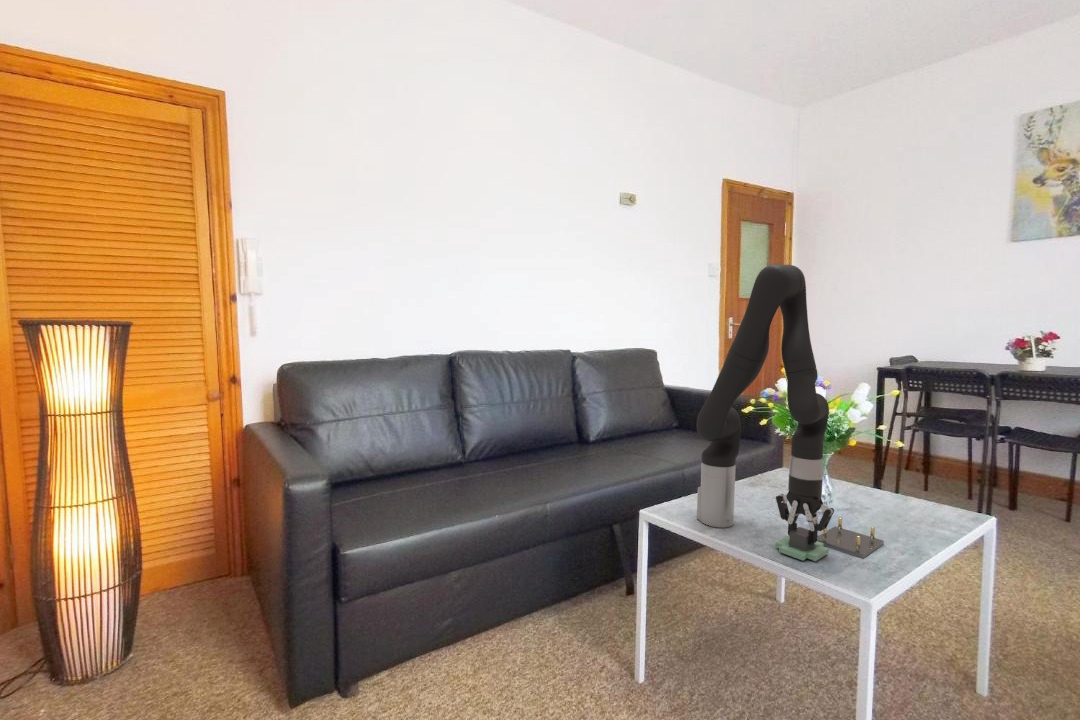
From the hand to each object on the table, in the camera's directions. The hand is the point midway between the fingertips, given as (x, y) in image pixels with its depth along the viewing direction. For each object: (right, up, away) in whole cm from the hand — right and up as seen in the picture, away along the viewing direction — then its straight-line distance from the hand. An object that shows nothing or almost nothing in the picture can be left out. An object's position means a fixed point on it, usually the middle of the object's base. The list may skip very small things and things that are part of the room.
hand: (802, 540), depth 137 cm
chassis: (+14, -2, +5) cm, 16 cm away
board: (0, -2, 0) cm, 2 cm away
